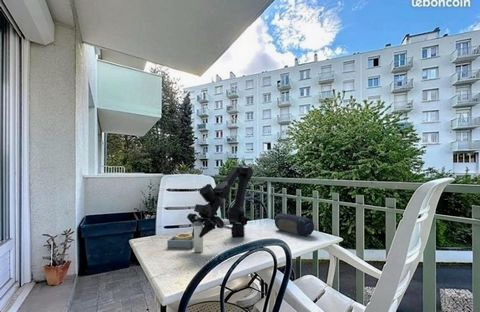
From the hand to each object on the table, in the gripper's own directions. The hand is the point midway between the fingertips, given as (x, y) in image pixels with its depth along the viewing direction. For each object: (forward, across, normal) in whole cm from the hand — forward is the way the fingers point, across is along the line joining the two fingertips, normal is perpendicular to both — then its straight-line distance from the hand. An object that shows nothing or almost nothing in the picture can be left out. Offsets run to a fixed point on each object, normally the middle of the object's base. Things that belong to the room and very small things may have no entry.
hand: (196, 236), depth 115 cm
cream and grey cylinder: (+4, 0, +6) cm, 7 cm away
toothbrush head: (-28, -16, +39) cm, 51 cm away
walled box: (+1, -14, +9) cm, 16 cm away
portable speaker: (-33, +23, +44) cm, 60 cm away
